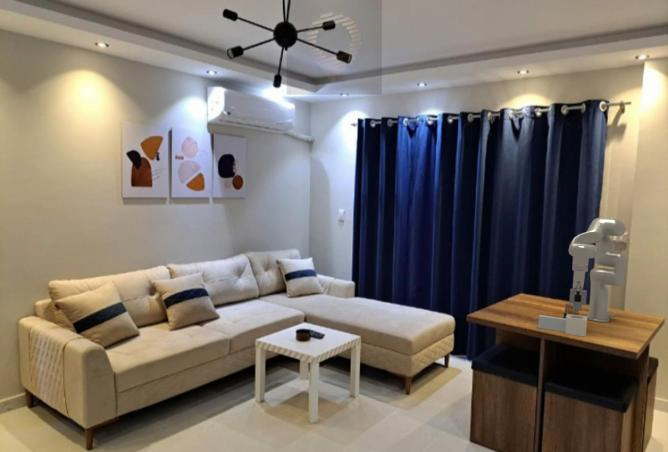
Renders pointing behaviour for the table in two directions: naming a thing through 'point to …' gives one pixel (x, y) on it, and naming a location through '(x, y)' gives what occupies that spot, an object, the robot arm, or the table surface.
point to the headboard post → (565, 324)
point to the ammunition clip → (569, 310)
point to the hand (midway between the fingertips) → (577, 300)
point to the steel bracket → (578, 304)
